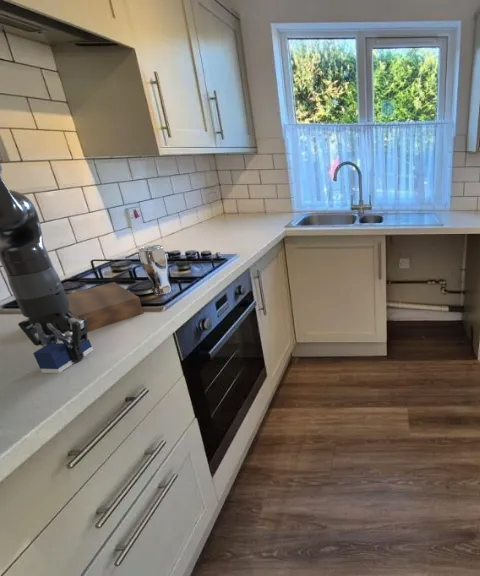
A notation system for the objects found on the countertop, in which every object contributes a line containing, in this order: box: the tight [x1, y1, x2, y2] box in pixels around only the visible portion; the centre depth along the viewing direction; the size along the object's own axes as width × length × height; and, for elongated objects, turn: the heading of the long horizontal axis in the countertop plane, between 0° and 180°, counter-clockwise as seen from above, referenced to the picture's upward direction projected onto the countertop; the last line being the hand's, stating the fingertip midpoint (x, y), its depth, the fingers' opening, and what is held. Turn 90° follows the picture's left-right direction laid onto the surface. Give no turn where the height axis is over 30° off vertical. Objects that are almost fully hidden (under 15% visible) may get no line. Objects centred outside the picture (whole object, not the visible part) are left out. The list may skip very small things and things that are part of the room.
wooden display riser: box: [66, 281, 145, 333], centre depth 103 cm, size 14×20×5 cm
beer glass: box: [137, 244, 174, 295], centre depth 114 cm, size 7×7×15 cm
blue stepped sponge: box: [32, 338, 94, 374], centre depth 80 cm, size 9×4×5 cm, turn 176°
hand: (68, 359), depth 81 cm, fingers closed on blue stepped sponge, 4 cm apart
